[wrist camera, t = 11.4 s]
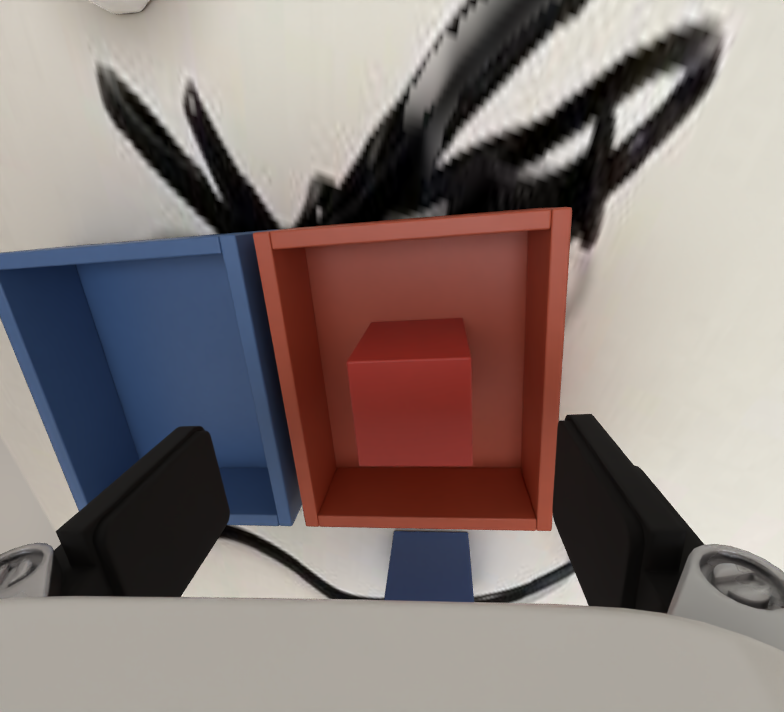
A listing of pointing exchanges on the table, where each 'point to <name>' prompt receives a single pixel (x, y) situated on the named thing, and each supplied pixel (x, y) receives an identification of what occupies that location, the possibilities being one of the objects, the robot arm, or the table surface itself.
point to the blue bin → (154, 361)
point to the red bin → (422, 302)
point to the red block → (412, 394)
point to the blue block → (430, 567)
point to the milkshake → (121, 5)
